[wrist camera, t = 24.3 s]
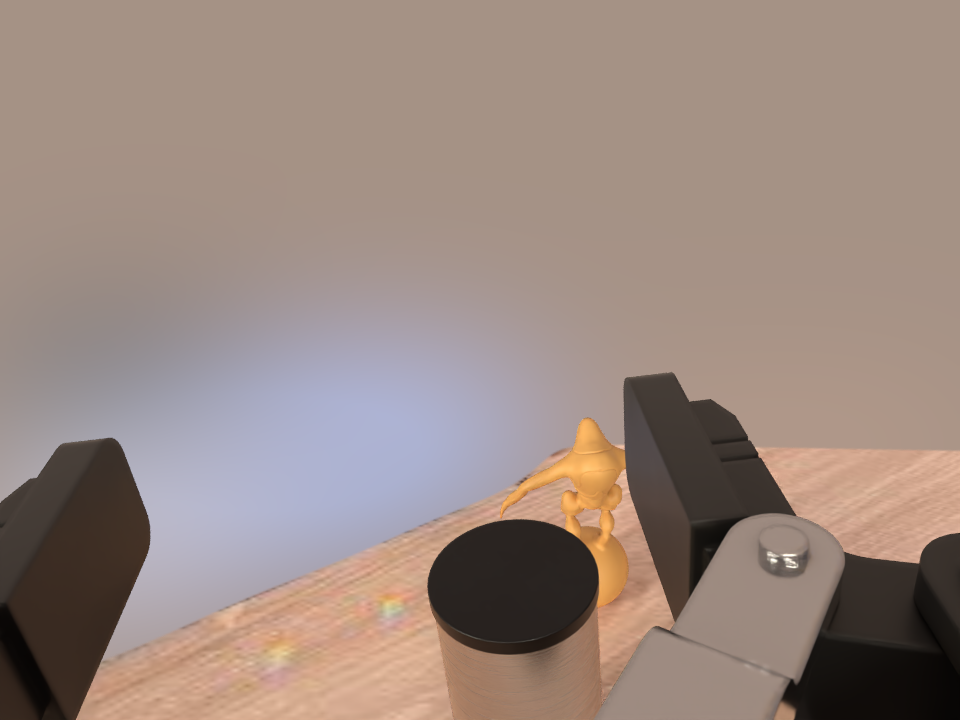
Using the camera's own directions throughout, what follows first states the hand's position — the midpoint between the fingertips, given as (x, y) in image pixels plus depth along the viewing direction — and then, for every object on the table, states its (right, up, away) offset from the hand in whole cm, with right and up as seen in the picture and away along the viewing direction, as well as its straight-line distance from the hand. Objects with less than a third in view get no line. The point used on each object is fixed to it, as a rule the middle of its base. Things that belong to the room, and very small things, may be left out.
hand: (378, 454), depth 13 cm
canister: (+4, -16, +20) cm, 26 cm away
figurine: (+7, -11, +28) cm, 31 cm away
